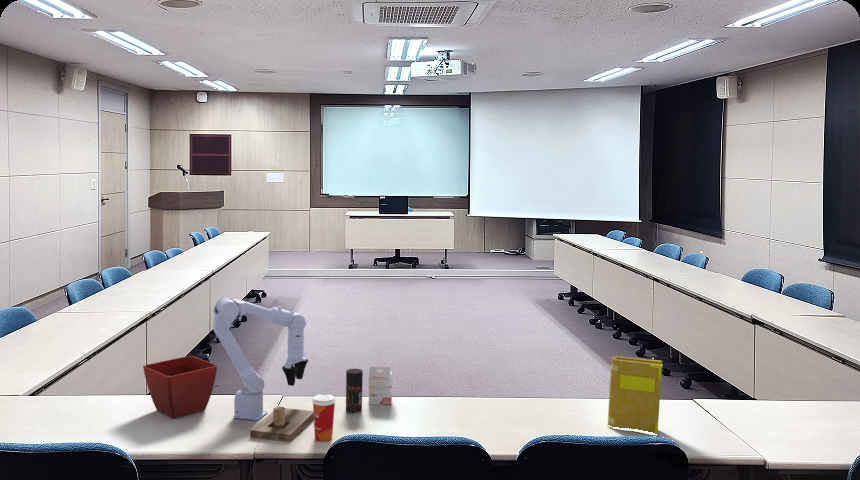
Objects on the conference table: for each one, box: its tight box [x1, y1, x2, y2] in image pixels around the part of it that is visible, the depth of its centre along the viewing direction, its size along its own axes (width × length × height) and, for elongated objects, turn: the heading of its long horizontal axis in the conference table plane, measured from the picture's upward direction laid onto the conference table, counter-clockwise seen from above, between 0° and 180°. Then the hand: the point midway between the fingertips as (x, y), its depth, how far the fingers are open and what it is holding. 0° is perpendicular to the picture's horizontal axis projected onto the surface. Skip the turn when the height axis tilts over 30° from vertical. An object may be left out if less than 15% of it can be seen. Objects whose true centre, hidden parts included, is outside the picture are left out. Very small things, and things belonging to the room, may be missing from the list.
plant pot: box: [142, 355, 218, 419], centre depth 243 cm, size 19×19×17 cm
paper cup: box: [311, 394, 337, 443], centre depth 221 cm, size 8×8×14 cm
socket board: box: [249, 407, 314, 443], centre depth 230 cm, size 14×22×2 cm, turn 169°
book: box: [607, 355, 663, 434], centre depth 237 cm, size 17×7×25 cm, turn 71°
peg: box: [272, 406, 285, 429], centre depth 226 cm, size 4×4×8 cm
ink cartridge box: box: [368, 365, 393, 406], centre depth 257 cm, size 9×5×15 cm, turn 87°
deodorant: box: [345, 368, 364, 414], centre depth 248 cm, size 6×6×15 cm
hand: (295, 382), depth 247 cm, fingers open, 7 cm apart
